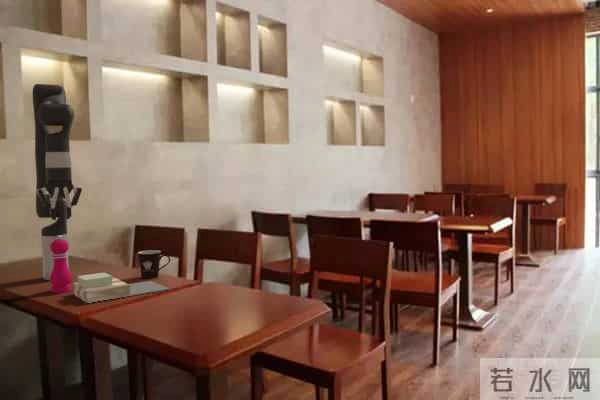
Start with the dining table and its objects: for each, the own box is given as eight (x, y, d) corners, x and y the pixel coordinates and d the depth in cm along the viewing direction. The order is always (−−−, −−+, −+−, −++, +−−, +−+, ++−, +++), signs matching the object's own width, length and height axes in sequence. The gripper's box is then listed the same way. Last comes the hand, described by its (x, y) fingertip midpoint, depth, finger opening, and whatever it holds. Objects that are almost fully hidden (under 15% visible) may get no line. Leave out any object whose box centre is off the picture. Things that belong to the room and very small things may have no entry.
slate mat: (114, 288, 195) (114, 286, 195) (151, 282, 204) (151, 280, 204) (130, 296, 183) (130, 295, 183) (169, 290, 191) (169, 288, 191)
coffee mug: (133, 278, 211) (133, 253, 210) (148, 274, 219) (147, 249, 218) (158, 280, 207) (157, 254, 206) (172, 276, 215) (171, 251, 214)
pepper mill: (64, 293, 188) (61, 236, 186) (45, 293, 189) (43, 236, 188) (76, 288, 195) (74, 233, 193) (58, 288, 196) (56, 233, 195)
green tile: (78, 284, 184) (77, 276, 184) (104, 280, 189) (104, 272, 189) (84, 289, 177) (84, 280, 177) (112, 284, 183) (112, 276, 183)
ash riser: (73, 294, 187) (73, 282, 187) (114, 288, 195) (113, 277, 195) (87, 303, 174) (86, 291, 174) (130, 296, 183) (129, 285, 182)
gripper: (78, 165, 182) (80, 217, 183) (31, 166, 173) (34, 220, 174) (84, 166, 176) (86, 218, 177) (37, 166, 167) (39, 222, 168)
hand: (60, 219), depth 176 cm, fingers open, 3 cm apart
